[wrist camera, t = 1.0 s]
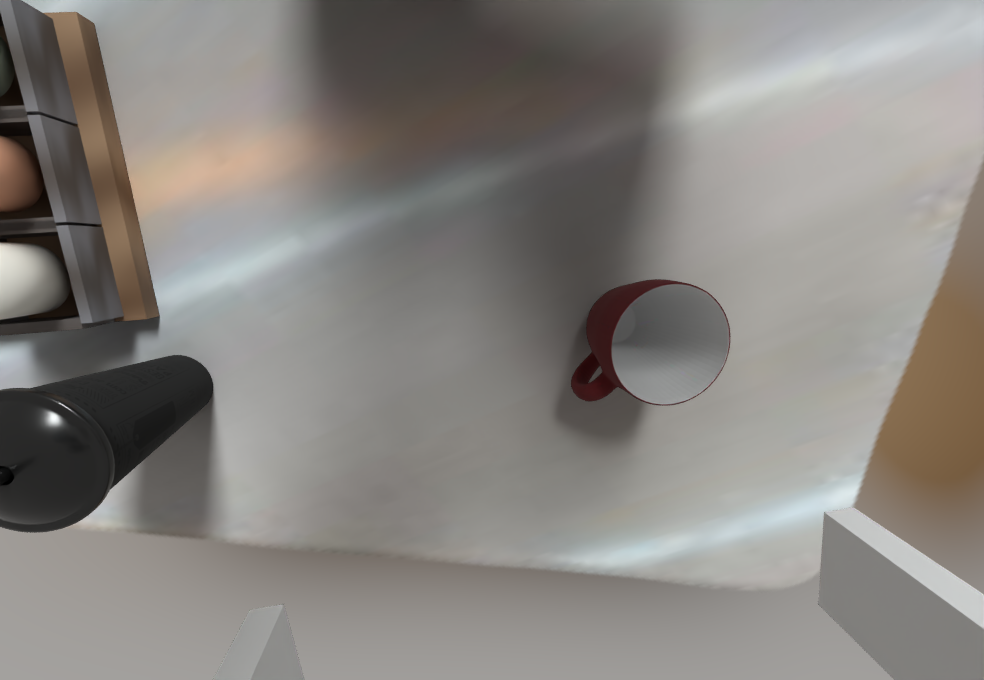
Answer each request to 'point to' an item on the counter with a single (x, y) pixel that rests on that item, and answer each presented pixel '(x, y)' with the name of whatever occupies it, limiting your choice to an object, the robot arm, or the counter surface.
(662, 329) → the mug
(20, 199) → the button terracotta
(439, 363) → the counter surface
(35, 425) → the drinking cup
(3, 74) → the pale green rounded cylinder
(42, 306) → the button ivory
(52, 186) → the wooden compartment tray
